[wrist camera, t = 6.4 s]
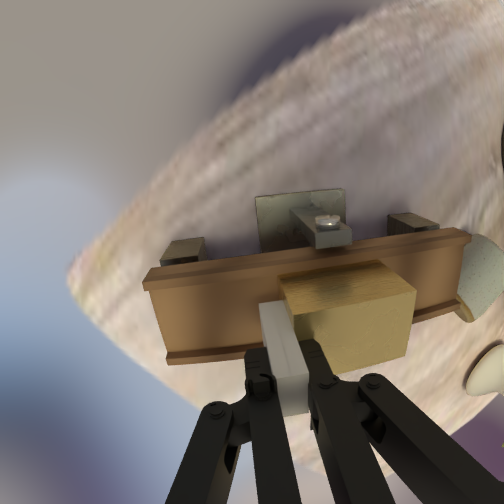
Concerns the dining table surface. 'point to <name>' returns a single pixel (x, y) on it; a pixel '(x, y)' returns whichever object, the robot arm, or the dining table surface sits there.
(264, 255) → the beam
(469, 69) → the dining table surface
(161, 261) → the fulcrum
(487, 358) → the flower in vase
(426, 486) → the robot arm
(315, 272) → the block
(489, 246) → the ceramic mug
